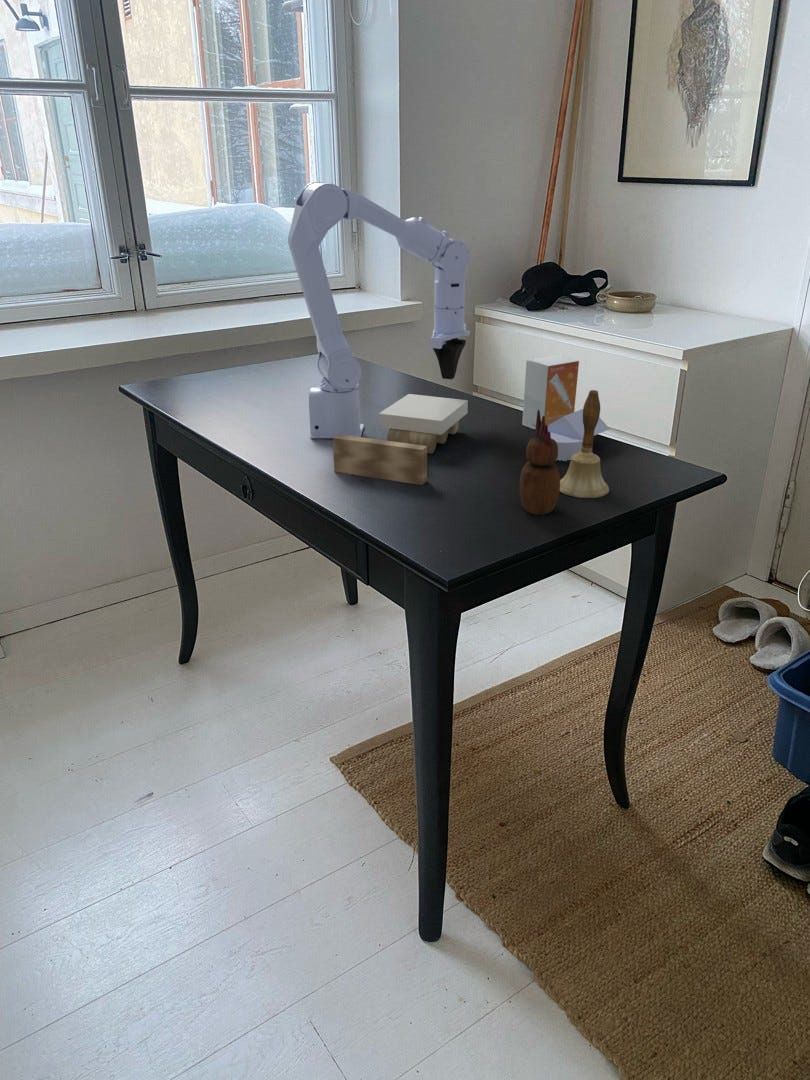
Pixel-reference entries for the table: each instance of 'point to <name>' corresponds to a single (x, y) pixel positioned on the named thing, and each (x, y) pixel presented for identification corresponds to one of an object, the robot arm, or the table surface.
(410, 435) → the roller track
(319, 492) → the table surface
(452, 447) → the table surface
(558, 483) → the wooden figurine
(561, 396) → the small box
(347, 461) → the block
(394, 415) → the slab
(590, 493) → the hand bell
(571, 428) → the wedge on round base
